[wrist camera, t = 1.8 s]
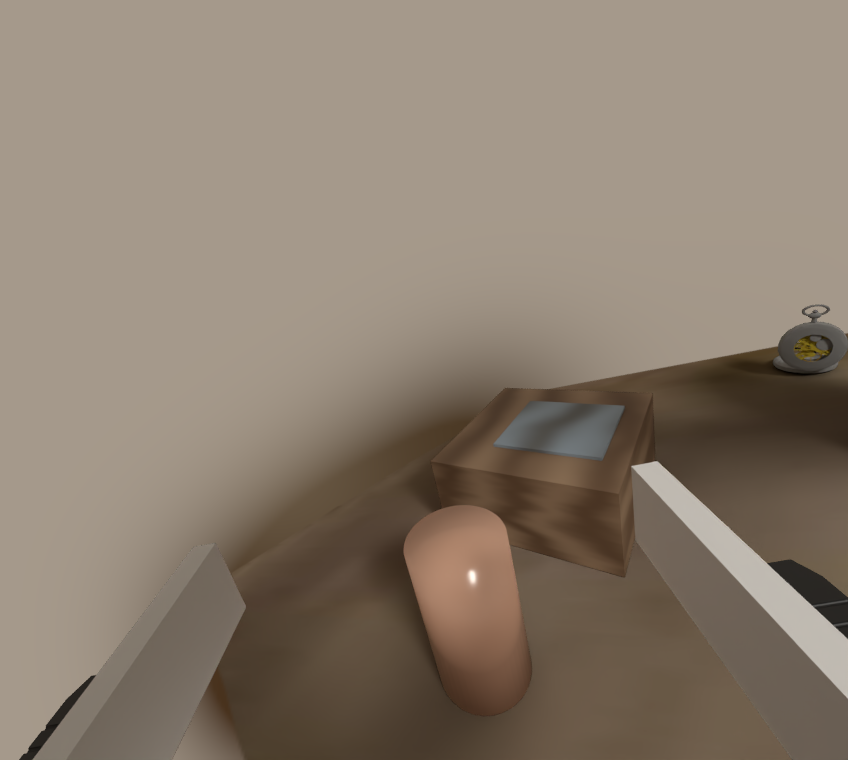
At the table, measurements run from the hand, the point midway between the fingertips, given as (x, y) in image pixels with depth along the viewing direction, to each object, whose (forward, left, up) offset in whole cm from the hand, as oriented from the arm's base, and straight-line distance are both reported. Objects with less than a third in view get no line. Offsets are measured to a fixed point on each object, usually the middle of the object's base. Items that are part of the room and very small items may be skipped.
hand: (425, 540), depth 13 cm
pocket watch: (-16, -64, -20) cm, 69 cm away
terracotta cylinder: (+6, -8, -19) cm, 22 cm away
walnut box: (+7, -28, -19) cm, 35 cm away
